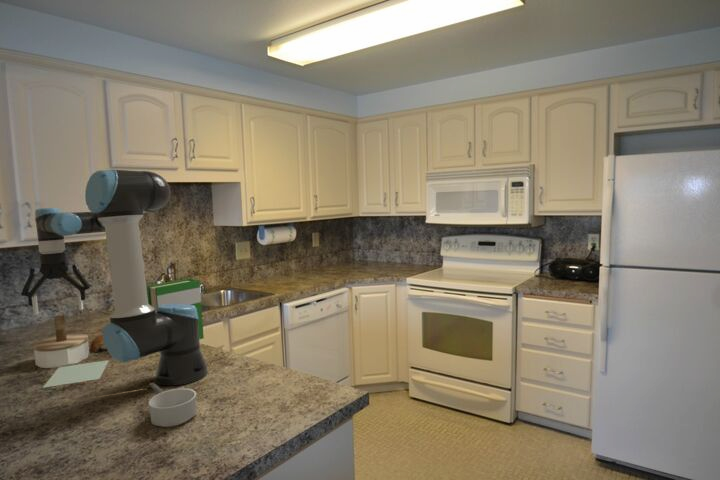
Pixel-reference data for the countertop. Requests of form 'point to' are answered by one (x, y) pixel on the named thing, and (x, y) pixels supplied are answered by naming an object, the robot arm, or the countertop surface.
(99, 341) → the bread roll
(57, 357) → the bowl
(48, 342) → the lid
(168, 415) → the saucepan
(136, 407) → the countertop surface
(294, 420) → the countertop surface
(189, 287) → the hardback book
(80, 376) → the mat
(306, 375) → the countertop surface
